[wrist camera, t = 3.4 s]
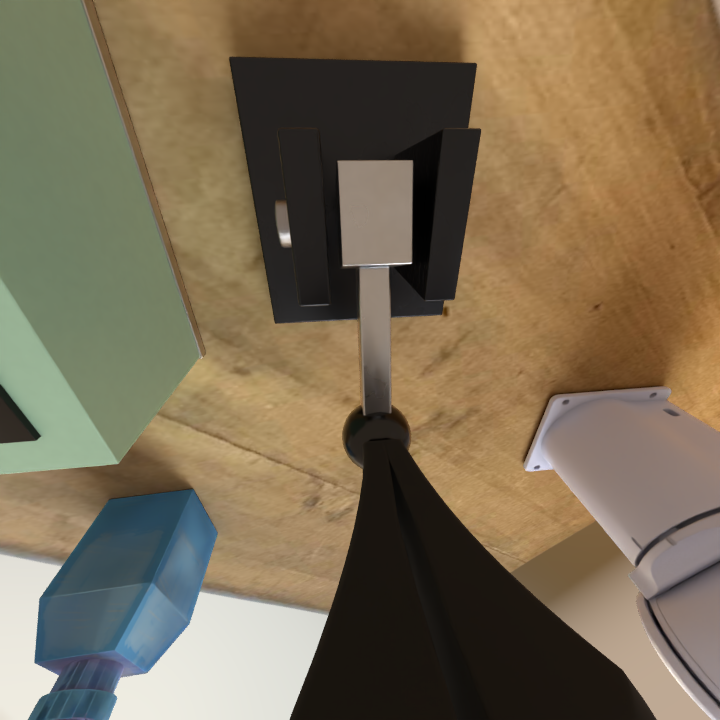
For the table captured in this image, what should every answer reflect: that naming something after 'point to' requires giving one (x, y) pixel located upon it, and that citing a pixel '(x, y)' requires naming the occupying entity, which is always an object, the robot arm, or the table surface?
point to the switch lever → (374, 285)
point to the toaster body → (78, 252)
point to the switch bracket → (354, 142)
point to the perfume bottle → (120, 600)
